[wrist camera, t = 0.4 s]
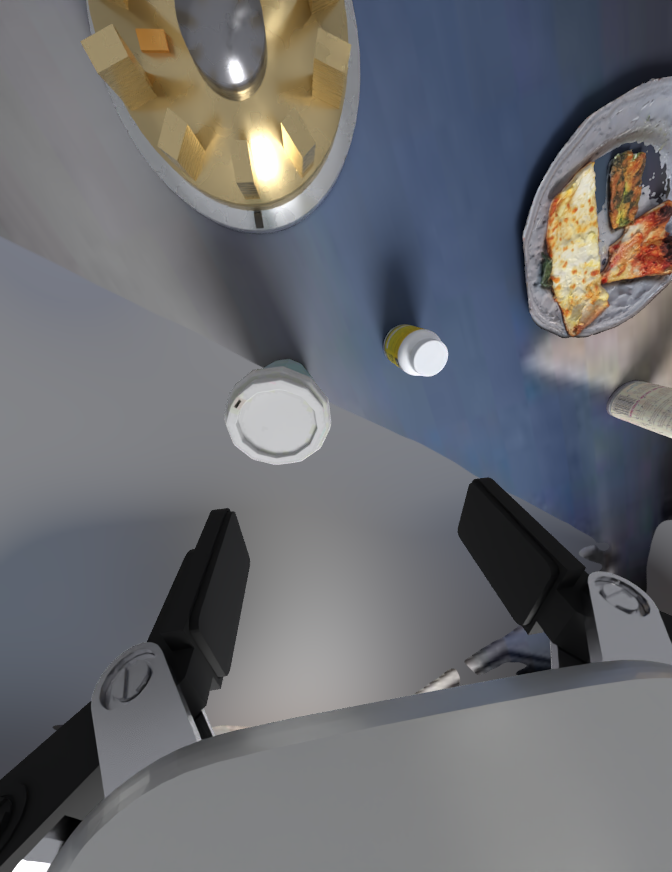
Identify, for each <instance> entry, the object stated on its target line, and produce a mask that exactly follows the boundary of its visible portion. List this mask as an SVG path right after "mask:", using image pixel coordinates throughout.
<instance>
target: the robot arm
mask: <svg viewBox="0 0 672 872" xmlns="http://www.w3.org/2000/svg"><path fill="white" fill-rule="evenodd" d="M458 535H459V537H460V539H461V541H462V542H463V544H464V545H465V546H466V548H467V549H468V551H469V553H470V554H471V556H472V557H473V559H474V560H475V562H476V563H477V565H478V566H479V568H480V569H481V571H482V572H483V573H484V575H485V577H486V578H487V580H488V581H489V583H490V584H491V586H492V587H493V589H494V590H495V592H496V593H497V595H498V596H499V598H500V599H501V601H502V602H503V604H504V605H505V607H506V608H507V610H508V611H509V613H510V614H511V616H512V617H513V619H514V620H515V621H516V623H517V624H519V625H522V627H523V628H524V629H525V631H526V632H527V634H528V635H531V634H536V633H542V632H545V633H546V635H547V636H548V638H549V639H550V647H551V665H552V669H551V670H546V671H540V672H535V673H529V674H524V675H518V676H513V677H508V678H502V679H497V680H491V681H485V682H480V683H475V684H469V685H464V686H458V687H453V688H448V689H442V690H437V691H432V692H426V693H421V694H416V695H411V696H405V697H400V698H395V699H390V700H384V701H379V702H374V703H369V704H363V705H359V706H354V707H348V708H343V709H338V710H333V711H328V712H322V713H317V714H312V715H307V716H302V717H296V718H292V719H287V720H282V721H278V722H273V723H268V724H264V725H259V726H254V727H250V728H245V729H240V730H236V731H232V732H228V733H224V734H221V735H217V736H215V734H214V731H213V729H212V727H211V725H210V722H209V720H208V718H207V716H206V713H205V711H204V709H203V708H204V707H205V706H206V704H207V700H208V696H209V691H210V690H216V689H221V685H222V680H223V676H227V675H228V673H229V671H230V667H231V662H232V657H233V651H234V645H235V641H236V636H237V630H238V625H239V620H240V614H241V609H242V603H243V599H244V593H245V588H246V582H247V578H248V572H249V567H250V558H249V555H248V551H247V548H246V545H245V542H244V539H243V536H242V532H241V530H240V526H239V523H238V520H237V517H236V514H235V512H231V511H230V509H228V508H226V509H217V510H212V511H211V512H210V515H209V517H208V519H207V522H206V524H205V526H204V529H203V531H202V534H201V536H200V538H199V541H198V543H197V545H196V548H195V549H192V550H190V551H189V552H188V553H187V554H186V556H185V558H184V560H183V562H182V565H181V567H180V569H179V571H178V574H177V576H176V578H175V580H174V582H173V585H172V587H171V589H170V591H169V594H168V596H167V598H166V600H165V603H164V605H163V607H162V609H161V612H160V614H159V616H158V618H157V621H156V623H155V625H154V627H153V629H152V632H151V634H150V636H149V638H148V641H147V642H145V643H140V644H138V645H135V646H132V647H131V648H129V649H128V650H126V651H124V652H123V653H122V654H121V655H119V656H118V657H117V658H116V659H115V660H114V661H113V662H112V663H111V664H110V665H109V666H108V668H107V669H106V670H105V671H104V672H103V674H102V675H101V677H100V679H99V681H98V682H97V684H96V686H95V689H94V692H93V695H92V699H91V702H89V703H88V704H87V705H86V706H85V707H84V708H82V709H81V710H80V711H79V712H78V713H77V714H75V715H74V716H73V717H72V718H71V719H70V720H69V721H67V722H66V723H65V724H64V725H63V726H62V727H60V728H59V729H58V730H57V731H56V732H55V733H54V734H52V735H51V736H50V737H49V738H48V739H47V740H46V741H44V742H43V743H42V744H41V745H40V746H39V747H38V748H37V749H35V750H34V751H33V752H32V753H31V754H30V755H28V756H27V757H26V758H25V759H24V760H23V761H21V762H20V763H19V764H18V765H17V766H16V767H15V768H14V769H12V770H11V771H10V772H9V773H8V774H7V775H6V776H4V777H3V778H2V779H1V780H0V872H672V616H670V615H668V614H666V613H664V612H661V611H659V610H658V608H657V607H656V605H655V603H654V602H653V601H652V599H651V598H650V597H649V596H648V595H647V594H646V593H645V592H644V591H642V590H641V589H640V588H639V587H637V586H636V585H634V584H633V583H631V582H629V581H628V580H626V579H624V578H622V577H620V576H617V575H615V574H611V573H608V572H599V571H597V572H594V573H591V574H590V575H589V574H587V573H586V572H585V571H584V570H585V568H586V567H585V566H584V565H583V564H582V563H580V562H579V561H578V560H577V559H576V558H575V557H574V556H573V555H572V554H571V553H570V552H569V551H568V550H567V549H566V548H564V547H563V546H562V545H561V544H560V543H559V542H558V541H557V540H556V539H555V538H554V537H553V536H552V535H551V534H550V533H549V532H548V531H547V530H545V529H544V528H543V527H542V526H541V525H540V524H539V523H538V522H537V521H536V520H535V519H534V518H533V517H532V516H531V515H530V514H529V513H528V512H527V511H525V510H524V509H523V508H522V507H521V506H520V505H519V504H518V503H517V502H516V501H515V500H514V499H513V498H512V497H511V496H510V495H509V494H508V493H506V492H505V491H504V490H503V489H502V488H501V487H500V486H499V485H498V484H497V483H496V482H495V481H494V480H493V479H491V478H480V479H474V480H473V481H472V483H471V484H469V487H468V491H467V495H466V499H465V503H464V506H463V511H462V514H461V518H460V522H459V526H458Z"/></svg>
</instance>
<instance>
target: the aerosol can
mask: <svg viewBox="0 0 672 872" xmlns="http://www.w3.org/2000/svg"><path fill="white" fill-rule="evenodd" d="M606 410H607V412H608V414H610V415H611V416H614V417H616V418H619V419H622V420H624V421H627V422H630V423H632V424H635V425H638V426H640V427H643V428H646V429H648V430H651V431H654V432H656V433H659V434H662V435H664V436H667V437H670V438H672V388H669V387H664V386H660V385H656V384H652V383H648V382H644V381H639V380H634V381H630V382H627V383H625V384H623V385H622V386H621V387H619V388H618V389H617V390H616V391H615V392H614V393H613V394H612V396H611V397H610V398H609V401H608V403H607V409H606Z"/></svg>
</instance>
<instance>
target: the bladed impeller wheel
mask: <svg viewBox="0 0 672 872" xmlns="http://www.w3.org/2000/svg"><path fill="white" fill-rule="evenodd" d="M88 5H89V10H90V15H91V19H92V23H93V26H94V30H95V34H93V35H91V36H89V37H88V38H86V39H84V40H82V41H81V43H82V45H83V47H84V49H85V51H86V53H87V54H88V56H89V58H90V60H91V62H92V64H93V65H94V67H95V69H96V71H97V73H98V74H99V75H100V76H101V77H102V78H103V80H104V81H105V82H106V83H107V84H108V85H109V86H110V87H111V89H112V90H113V91H114V92H115V93H116V94H117V95H118V96H119V97H120V99H121V100H122V101H123V103H124V105H125V106H126V108H127V110H128V112H129V114H130V115H131V117H132V118H133V120H134V121H135V123H136V124H137V126H138V128H139V129H140V131H141V132H142V134H143V135H144V136H145V137H146V139H147V140H148V141H149V142H150V144H151V145H152V146H153V148H154V149H155V150H156V151H157V152H158V153H159V154H160V155H161V156H162V158H163V159H164V160H165V161H166V162H167V163H168V164H169V165H170V166H171V167H172V168H173V169H174V170H175V171H176V172H177V173H178V174H179V175H180V176H181V177H182V178H183V179H184V180H185V181H187V182H188V183H189V184H190V185H191V186H192V187H194V188H195V189H196V190H198V191H199V192H201V193H202V194H204V195H205V196H207V197H209V198H210V199H212V200H214V201H216V202H218V203H220V204H223V205H226V206H229V207H231V208H236V209H240V210H247V211H261V210H269V209H273V208H276V207H279V206H282V205H284V204H286V203H288V202H290V201H292V200H293V199H294V198H296V197H297V196H298V195H300V194H301V193H302V192H303V191H304V190H305V189H306V188H307V187H308V186H309V185H310V184H311V183H312V182H313V181H314V179H315V178H316V177H317V175H318V174H319V173H320V171H321V169H322V167H323V166H324V164H325V162H326V160H327V158H328V156H329V153H330V151H331V149H332V146H333V144H334V140H335V137H336V134H337V130H338V127H339V122H340V117H341V113H342V108H343V103H344V98H345V92H346V84H347V74H348V61H349V55H350V50H351V44H349V43H348V28H347V16H346V9H345V2H344V0H88Z"/></svg>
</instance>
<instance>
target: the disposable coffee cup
mask: <svg viewBox="0 0 672 872" xmlns="http://www.w3.org/2000/svg"><path fill="white" fill-rule="evenodd" d="M224 419H225V423H226V426H227V429H228V431H229V434H230V436H231V439H232V441H233V444H234V445H235V446H236V447H238V448H239V449H240V450H241V451H243V452H244V453H245V454H246V455H248V456H249V457H250V458H252V459H253V460H258V461H262V462H266V463H270V464H274V465H279V464H286V463H294V462H300V461H302V460H304V459H305V458H307V457H308V456H310V455H311V454H313V453H314V452H315V451H317V450H318V449H320V448H321V446H322V444H323V442H324V440H325V438H326V436H327V434H328V431H329V429H330V427H331V418H330V409H329V401H328V398H327V397H326V396H325V394H324V393H323V392H322V391H321V389H320V388H319V387H318V386H317V384H316V383H315V382H314V380H313V379H312V377H311V376H310V374H309V373H308V372H307V370H306V369H305V368H304V367H303V365H302V364H300V363H298V362H295V361H293V360H291V359H285V360H277V361H275V362H273V363H271V364H269V365H268V366H266V367H264V368H263V369H257V370H252V371H251V372H250V373H249V374H247V375H246V376H245V377H244V378H243V379H241V380H240V381H239V382H238V383H236V384H235V386H234V387H233V389H232V390H231V392H230V394H229V398H228V402H227V405H226V409H225V413H224Z"/></svg>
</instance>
